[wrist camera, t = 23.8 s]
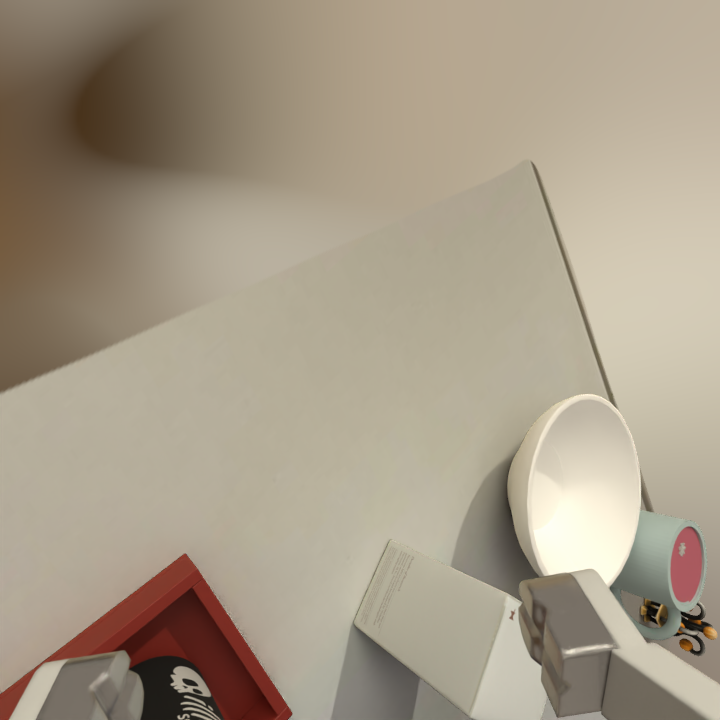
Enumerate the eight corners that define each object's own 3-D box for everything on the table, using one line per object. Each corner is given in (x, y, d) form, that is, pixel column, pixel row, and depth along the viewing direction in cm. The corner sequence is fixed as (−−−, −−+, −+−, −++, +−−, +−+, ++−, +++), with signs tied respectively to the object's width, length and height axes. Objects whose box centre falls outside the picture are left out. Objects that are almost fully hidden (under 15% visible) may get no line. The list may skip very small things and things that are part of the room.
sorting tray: (-36, 720, 24) (-47, 761, 21) (185, 552, 30) (197, 568, 28) (99, 871, 27) (103, 923, 24) (274, 688, 33) (293, 714, 30)
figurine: (660, 608, 64) (729, 631, 57) (647, 638, 62) (717, 665, 55) (646, 584, 63) (714, 604, 56) (632, 613, 61) (701, 638, 54)
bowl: (571, 381, 55) (630, 381, 49) (589, 541, 56) (650, 558, 50) (456, 409, 44) (515, 412, 39) (480, 607, 45) (542, 638, 39)
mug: (572, 505, 54) (666, 526, 46) (614, 497, 59) (705, 515, 51) (573, 626, 53) (670, 670, 45) (616, 607, 58) (709, 644, 50)
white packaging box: (349, 624, 37) (467, 719, 26) (389, 536, 39) (510, 590, 29) (410, 651, 40) (536, 746, 29) (443, 568, 42) (570, 627, 32)
